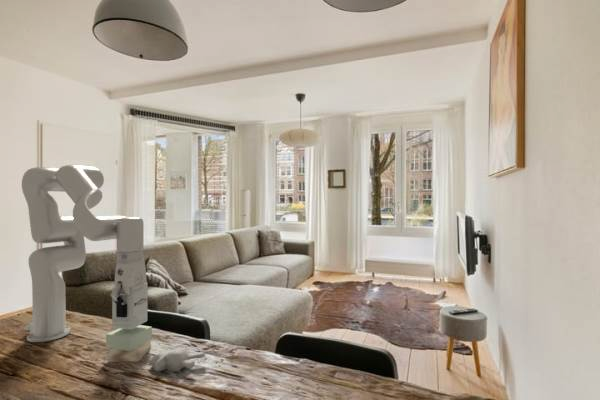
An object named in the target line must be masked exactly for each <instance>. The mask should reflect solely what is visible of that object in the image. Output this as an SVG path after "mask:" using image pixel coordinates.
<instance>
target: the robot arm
mask: <svg viewBox="0 0 600 400" xmlns="http://www.w3.org/2000/svg"><path fill="white" fill-rule="evenodd" d="M104 181H105V178H104V175H103V173H102V171H101V170H100V169H99V168H97V167H95V166H90V165H89V166H87V165H78V164H66V165H63V166H60V167H59V168H58V167H50V166H49V167H48V166H47V167H46V166H41V167H40V166H38V167H32V168H31V167H30V168H29V169H28V170H26V171H25V172H24V173H23V175H22V178H21V191H22V193H23V196H24V199H25V202H26V203H27V209H28V216H29V217H28V218H29V227H30V233H31V234H30V235H31V238H32V240H33V242H35V243H37V244H53V243H61V242H62V243H63V245H54V246H47V247H46V246H45V247H41V248H38V249H36V250H34V251H33V252H31V254H30V255H29V257H28V262H27V263H28V267H29V272H30V276H31V287H32V290H31V291H32V292H31V293H32V295H31V296H32V303H31V304H32V321H31V322H28V323H27V325H25V326H24V330H25V331H29V334H27V335H26V341H28V342H30V343H44V342H50V341H54V340H58V339H60V338H63V337H65V336H67V335H69V334H70V333H71V331H72V329H71V326H68V325H66V324H67V323H66V318H67V317H66V312H67V311H66V310H67V309H66V305H67V303H66V282H65V281H64V279H63V277H61V276H60V274H59V273H62V272H67V271H71V270H75V269H79V268H81V267H82V266H83V265H84V264H85V262H86V259H87V252H86V244H85V241H86V240H85V238H86V239H87V240H89V241H91V242H101V241H110V240H116V264H115V271H114V286H113V287H115V289H114V290H113V292H110V297H111V299H112V298H113V301H114V302H115V304H116V317H123V318H125V317H127V304H125V303H126V300H127V295H131V288H133V287H135V286H138V285H140V284H142V283H148V280H147V269H146V262H145V258H144V229H145V228H144V227H145V226H144V219H143V218H142V217H138V216H125V215H106V216H103V215H101V216H96V215H95V214H94V213H93V212H92V211H91V209H92V208H94V207H96V206H97V205H98V204H99V203H100V202H101V200H102V199H103V192H102V191H101V188H102V186H103V185H104ZM49 192H62V193H63V192H65V193H66V195H67V196H68V197H69V198H70V199H71V200H72V202H73V203H74V206H73V209H72V215H68V216H67V215H63V216H62V215H61V216H60V213H59V205H58V203H57V201H56V199H55V198H54V197H53V196H52V195H51V194H50V193H49ZM121 289H123V292H124V293H120V290H121ZM120 296H124V297H123V300H122V298H121V297H120Z"/></svg>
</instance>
